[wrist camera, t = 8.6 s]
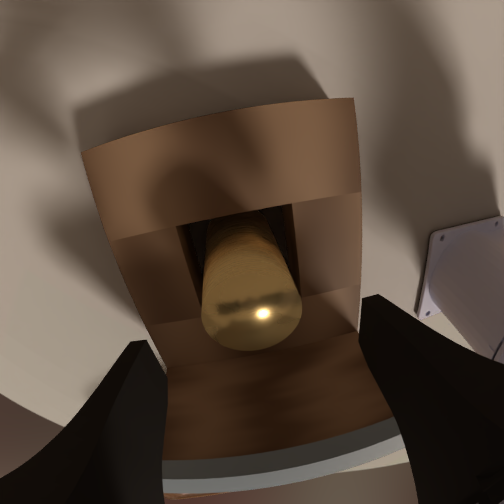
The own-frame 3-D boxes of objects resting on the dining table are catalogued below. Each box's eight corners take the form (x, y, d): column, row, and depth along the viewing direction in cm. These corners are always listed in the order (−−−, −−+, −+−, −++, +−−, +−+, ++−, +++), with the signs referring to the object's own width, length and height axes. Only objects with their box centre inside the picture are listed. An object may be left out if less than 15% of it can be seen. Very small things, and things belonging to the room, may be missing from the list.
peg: (268, 201, 16) (302, 265, 9) (272, 260, 17) (301, 343, 11) (202, 209, 15) (192, 279, 9) (211, 267, 17) (210, 355, 11)
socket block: (338, 98, 13) (514, 108, 4) (347, 316, 20) (413, 443, 10) (97, 146, 13) (-62, 225, 3) (171, 350, 20) (158, 492, 10)
